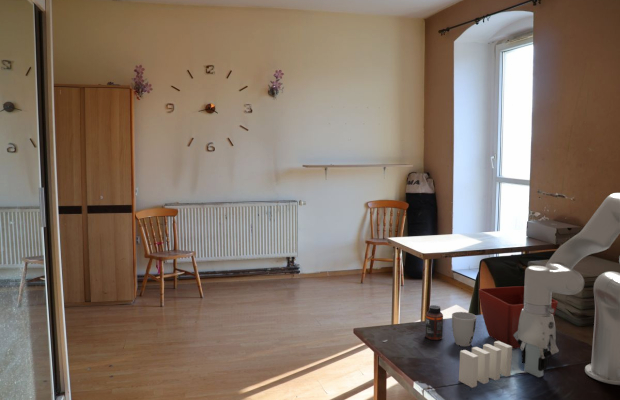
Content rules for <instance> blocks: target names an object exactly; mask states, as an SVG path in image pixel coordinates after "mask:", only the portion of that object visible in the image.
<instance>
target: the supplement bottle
mask: <svg viewBox="0 0 620 400" xmlns="http://www.w3.org/2000/svg"><path fill="white" fill-rule="evenodd" d="M425 314H426V315H425V337H426V338H427V339H429V340H432V341H439V340H441V339H443V332H444V331H443V330H444V328H443V327H444V325H443V324H444V314H443V313H442V312H441V306H440V305H433V304H432V305H429V307H428V311H427V312H426V313H425Z"/></svg>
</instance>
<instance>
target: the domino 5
mask: <svg viewBox="0 0 620 400" xmlns="http://www.w3.org/2000/svg"><path fill="white" fill-rule="evenodd" d="M525 352H526V354H525V364H524V369H523V370H524V372H527V373H529V374H530V375H533V376H534V377H537V378H541V377H543V376H544V370H542V371H539V370H538V360H539V358H540V357H541V356H540V351H539V347H536V346H533V345H531V344H528V343H526V349H525Z"/></svg>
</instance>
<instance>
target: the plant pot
mask: <svg viewBox="0 0 620 400" xmlns="http://www.w3.org/2000/svg"><path fill="white" fill-rule="evenodd" d="M478 294H479V304H480V308H481V313H482V317H483V320H484V324H485V328H486V331H487V334H488V337H490V338H492V339H493V340H495V341H500V342H503V343H505V344H507V345H510V346H512V350H513V349H520V345H519V344H518V342H517V340H516V339H515V337H514V334H515V333H516V332H517V331H518V325H519V318H520V314H521V311H522V309H523V306H524V286H522V285H521V286H520V285H519V286H503V287H502V286H501V287H499V286H498V287H486V288H485V287H484V288H479V289H478ZM558 303H559V302H558V300H555V299H554V298H552V300H551V308H552V309H554V313H551V314H552V315H553V316H554V317H555V314H556V311H557V308H558Z"/></svg>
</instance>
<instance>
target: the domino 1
mask: <svg viewBox="0 0 620 400" xmlns="http://www.w3.org/2000/svg"><path fill="white" fill-rule="evenodd" d="M458 366H459V367H458V368H459V369H458V370H459V373H458V382H461V383H462V384H464V385H467V386H468V387H470V388H476V387H478V381H477V374H478V356H477V355H475V354H473V353H472V351H469V350H466V349H463V350H462V349H461V350H460V351H459V365H458Z"/></svg>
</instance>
